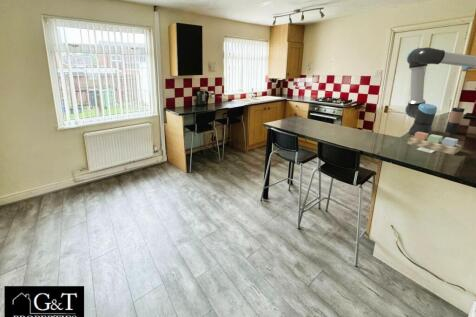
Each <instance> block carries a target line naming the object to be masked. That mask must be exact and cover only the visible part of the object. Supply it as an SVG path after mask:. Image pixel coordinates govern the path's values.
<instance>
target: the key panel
mask: <svg viewBox="0 0 476 317" xmlns="http://www.w3.org/2000/svg"><path fill="white" fill-rule="evenodd" d="M414 136H415V135H413V136H411V137H409V138H408V140H407V142H406V143H407V145H410V146H411V145H412V146H415V147H418V148H420V147H422V148H427V149H431V150H434V151H437V152H439V153H443V154H449V155H453V156H454V155H455V154H457V153H458V152H460V150H461V147H462V145H461V144H458V143H457V144H456V146H455V147H450V146H446V145H442V142H443V140H441V143H439V144H437V143H432V142H428V141H427V140H428V137H427V140H425V141H423V140H418V139H414Z"/></svg>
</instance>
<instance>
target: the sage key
mask: <svg viewBox="0 0 476 317" xmlns="http://www.w3.org/2000/svg"><path fill="white" fill-rule="evenodd" d="M427 138H428V140H427V141H428V142H432V143H437V144H439V143H441V141H443V139H444V136H443V135H440V134H439V135H437V134H433V133H432V134H431V135H429V137H427Z"/></svg>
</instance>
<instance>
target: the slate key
mask: <svg viewBox="0 0 476 317" xmlns="http://www.w3.org/2000/svg"><path fill="white" fill-rule="evenodd" d="M442 141H443V142H442V145H446V146H450V147H455V146H456V144H457V145H458V142H459V139H458V138H453V137H448V136H446V137H443V138H442Z"/></svg>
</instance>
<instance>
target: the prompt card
mask: <svg viewBox="0 0 476 317" xmlns="http://www.w3.org/2000/svg"><path fill="white" fill-rule="evenodd" d="M416 151H422V152H424V153H425V152H426V153H429V154H433V153H434V152H435V150H431V149H427V148H423V147H418V148H416Z"/></svg>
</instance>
